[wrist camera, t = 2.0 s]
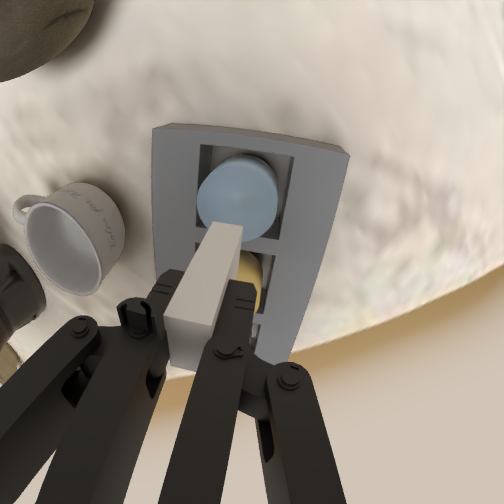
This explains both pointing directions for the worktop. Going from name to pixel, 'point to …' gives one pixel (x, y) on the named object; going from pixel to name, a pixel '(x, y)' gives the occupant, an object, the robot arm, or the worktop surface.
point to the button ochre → (250, 272)
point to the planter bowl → (7, 363)
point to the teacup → (73, 235)
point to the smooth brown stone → (37, 32)
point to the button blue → (240, 195)
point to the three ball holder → (271, 242)
